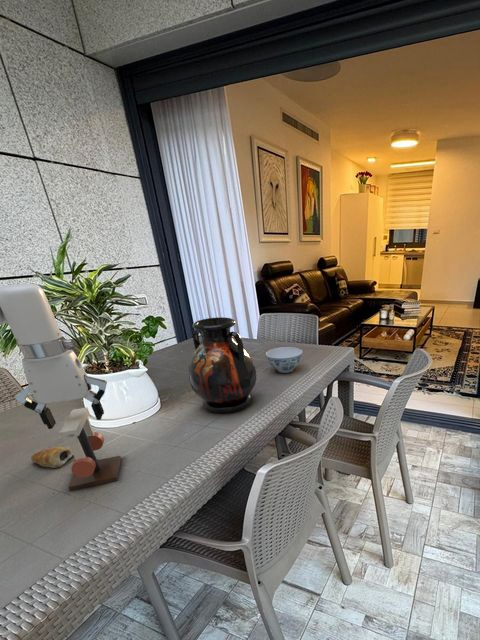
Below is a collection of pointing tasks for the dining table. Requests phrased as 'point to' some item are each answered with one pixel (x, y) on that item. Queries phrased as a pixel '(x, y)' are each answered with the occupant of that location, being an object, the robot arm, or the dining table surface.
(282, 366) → the chinaware
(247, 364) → the amphora vase
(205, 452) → the dining table surface
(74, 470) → the over-ear headset
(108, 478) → the headphone stand
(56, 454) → the pastry
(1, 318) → the robot arm
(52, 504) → the dining table surface
